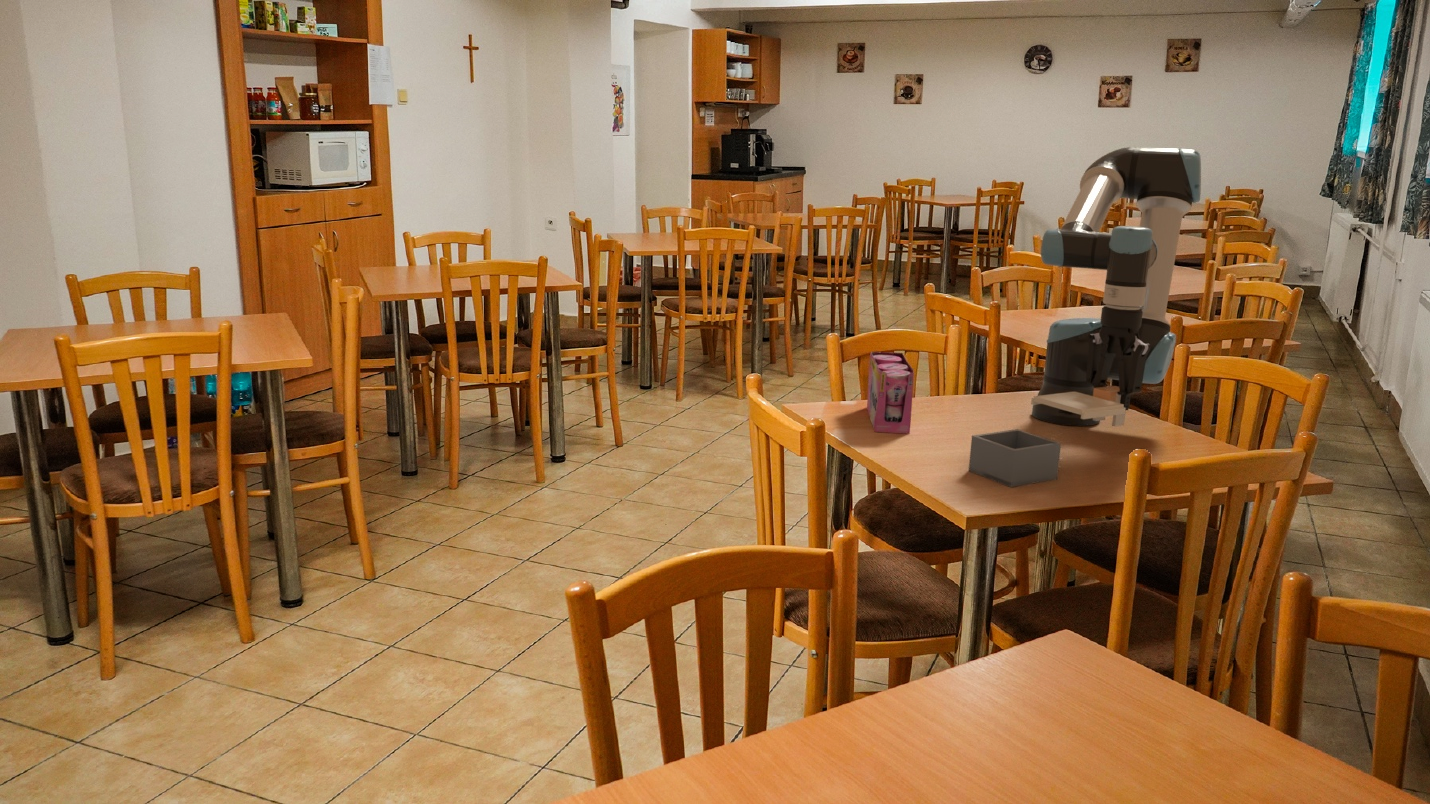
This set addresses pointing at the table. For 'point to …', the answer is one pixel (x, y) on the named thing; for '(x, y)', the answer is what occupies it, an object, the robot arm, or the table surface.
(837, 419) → the table surface
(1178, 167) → the robot arm
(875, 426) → the gum box
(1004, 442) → the tub
